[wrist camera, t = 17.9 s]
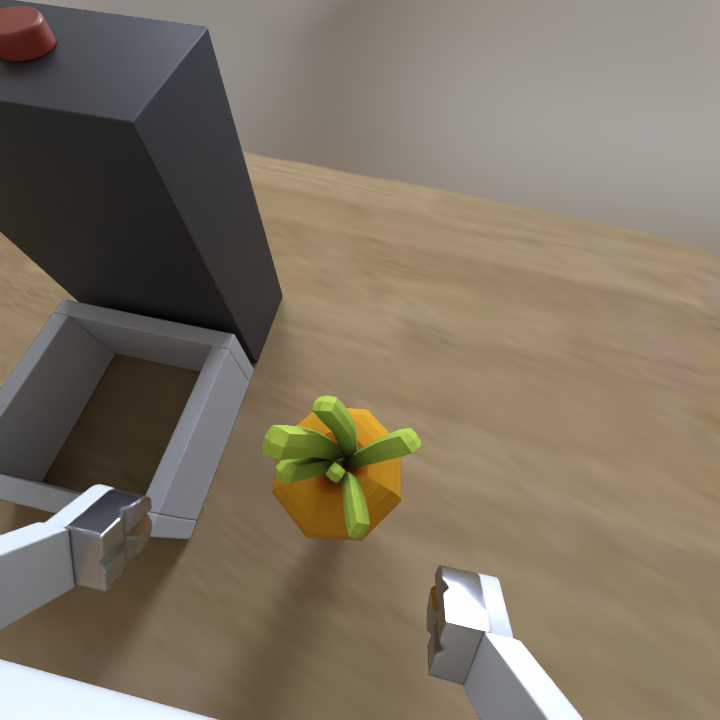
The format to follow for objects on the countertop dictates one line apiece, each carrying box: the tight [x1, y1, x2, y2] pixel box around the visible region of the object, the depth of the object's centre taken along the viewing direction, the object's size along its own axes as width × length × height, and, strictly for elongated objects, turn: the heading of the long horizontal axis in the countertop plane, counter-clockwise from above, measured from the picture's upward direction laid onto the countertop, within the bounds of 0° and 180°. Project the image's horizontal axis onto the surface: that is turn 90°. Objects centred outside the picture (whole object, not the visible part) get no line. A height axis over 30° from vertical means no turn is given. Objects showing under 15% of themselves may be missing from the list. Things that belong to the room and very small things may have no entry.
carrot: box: [262, 396, 422, 541], centre depth 16 cm, size 5×5×15 cm
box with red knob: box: [0, 0, 282, 539], centre depth 18 cm, size 18×11×18 cm, turn 168°
